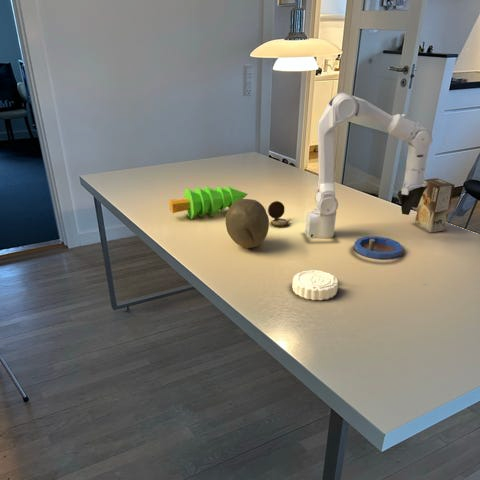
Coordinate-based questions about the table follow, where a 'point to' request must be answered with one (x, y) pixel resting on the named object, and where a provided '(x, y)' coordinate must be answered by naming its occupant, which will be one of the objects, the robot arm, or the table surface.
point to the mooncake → (315, 285)
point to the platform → (377, 248)
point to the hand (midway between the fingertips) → (409, 210)
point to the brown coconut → (247, 223)
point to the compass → (277, 214)
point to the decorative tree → (206, 201)
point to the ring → (378, 255)
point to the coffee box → (435, 205)
